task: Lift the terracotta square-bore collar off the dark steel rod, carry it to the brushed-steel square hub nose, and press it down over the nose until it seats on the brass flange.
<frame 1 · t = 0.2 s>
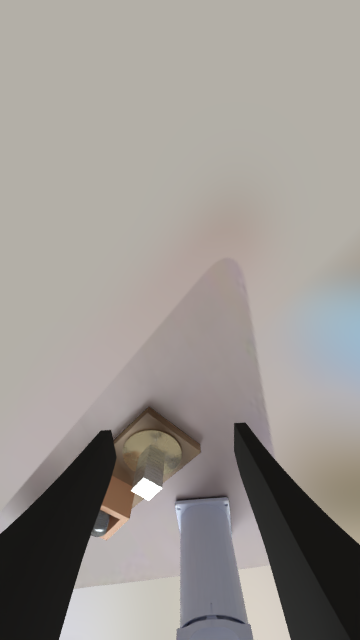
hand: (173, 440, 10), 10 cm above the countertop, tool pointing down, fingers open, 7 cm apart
hub: (153, 445, 22), resting on jig board
stand rod: (112, 482, 24), resting on jig board
collar: (110, 490, 23), point 1 cm above the countertop, touching jig board
jig board: (132, 464, 23), on the countertop
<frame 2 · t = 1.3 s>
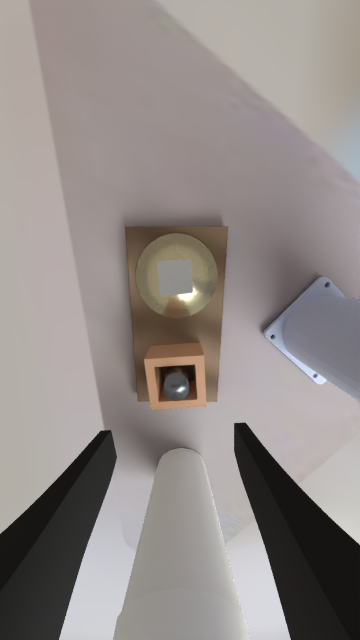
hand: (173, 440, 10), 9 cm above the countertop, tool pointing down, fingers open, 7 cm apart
hub: (176, 278, 17), resting on jig board
foam cup: (181, 464, 23), on the countertop
stand rod: (177, 362, 19), resting on jig board
collar: (177, 366, 18), point 1 cm above the countertop, touching jig board
jig board: (177, 322, 18), on the countertop
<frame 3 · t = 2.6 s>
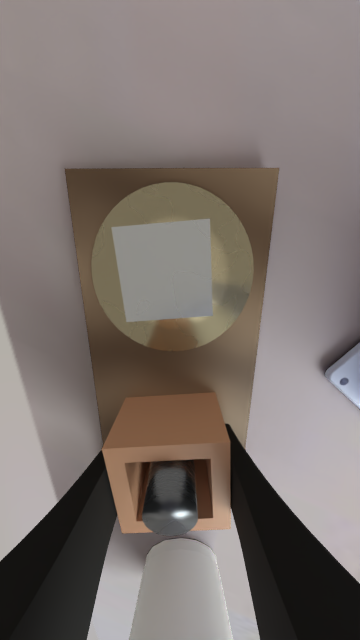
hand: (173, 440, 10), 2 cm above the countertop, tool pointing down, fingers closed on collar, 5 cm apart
hub: (173, 276, 9), resting on jig board
foam cup: (181, 557, 15), on the countertop
stand rod: (174, 417, 11), resting on jig board
collar: (174, 431, 10), point 1 cm above the countertop, touching gripper, jig board
jig board: (174, 355, 10), on the countertop
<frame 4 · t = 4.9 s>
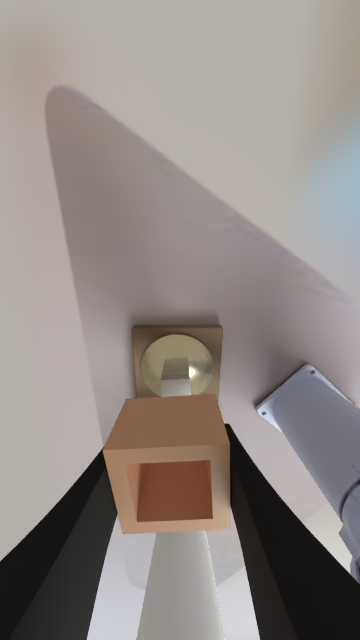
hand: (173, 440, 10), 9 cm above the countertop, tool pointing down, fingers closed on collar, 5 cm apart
hub: (177, 363, 18), resting on jig board
foam cup: (181, 514, 24), on the countertop
collar: (174, 432, 10), point 8 cm above the countertop, touching gripper
jig board: (177, 399, 19), on the countertop
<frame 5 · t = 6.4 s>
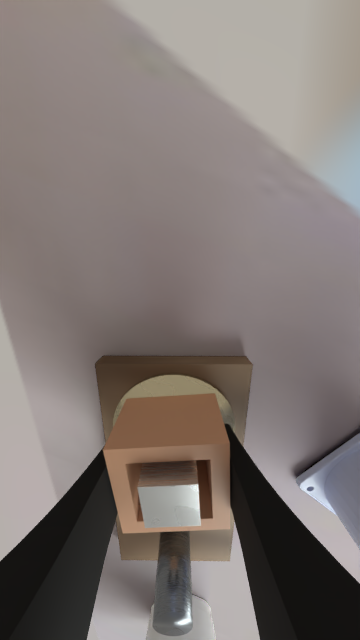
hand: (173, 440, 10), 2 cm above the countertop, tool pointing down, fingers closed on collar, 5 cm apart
hub: (174, 414, 11), resting on jig board
foam cup: (180, 607, 18), on the countertop
stand rod: (175, 507, 14), resting on jig board
collar: (174, 432, 10), point 1 cm above the countertop, touching gripper
jig board: (175, 465, 13), on the countertop
when the fingers open (2 cm above the countertop, at t = 7.4 s): collar stays where it is, resting on hub.
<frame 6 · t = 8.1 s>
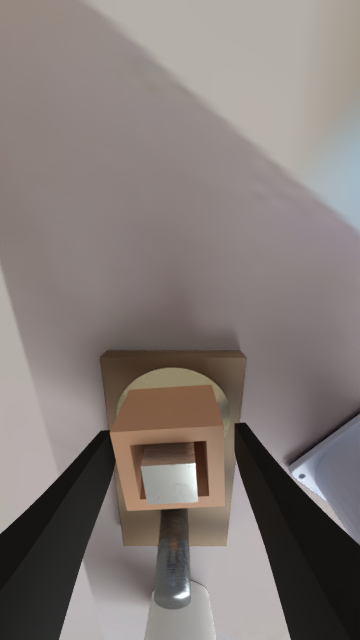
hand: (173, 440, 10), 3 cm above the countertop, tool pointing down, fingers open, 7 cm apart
hub: (174, 406, 12), resting on jig board
foam cup: (180, 593, 18), on the countertop
stand rod: (175, 495, 14), resting on jig board
collar: (173, 420, 11), point 1 cm above the countertop, touching hub
jig board: (174, 454, 13), on the countertop
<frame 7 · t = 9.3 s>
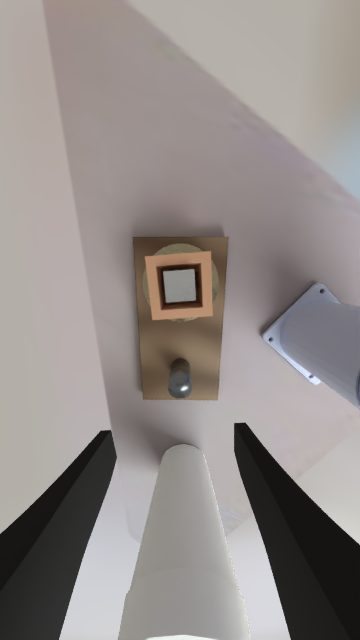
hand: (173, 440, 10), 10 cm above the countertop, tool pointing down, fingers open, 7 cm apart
hub: (180, 284, 18), resting on jig board
foam cup: (183, 460, 24), on the countertop
stand rod: (180, 362, 20), resting on jig board
collar: (180, 285, 16), point 1 cm above the countertop, touching hub
jig board: (180, 325, 19), on the countertop
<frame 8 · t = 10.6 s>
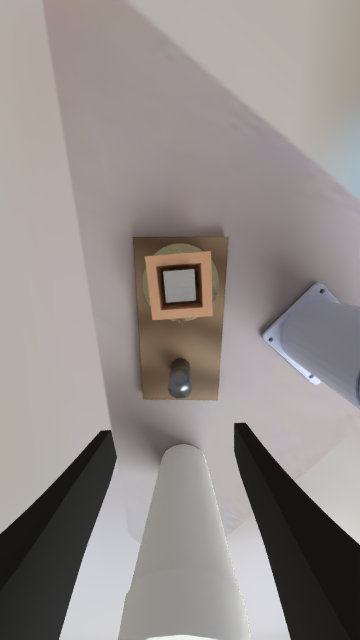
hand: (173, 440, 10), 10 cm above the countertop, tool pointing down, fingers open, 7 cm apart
hub: (180, 284, 18), resting on jig board
foam cup: (183, 460, 24), on the countertop
stand rod: (180, 362, 20), resting on jig board
collar: (180, 285, 16), point 1 cm above the countertop, touching hub
jig board: (180, 325, 19), on the countertop
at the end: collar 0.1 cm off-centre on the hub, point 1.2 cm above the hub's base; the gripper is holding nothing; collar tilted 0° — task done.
